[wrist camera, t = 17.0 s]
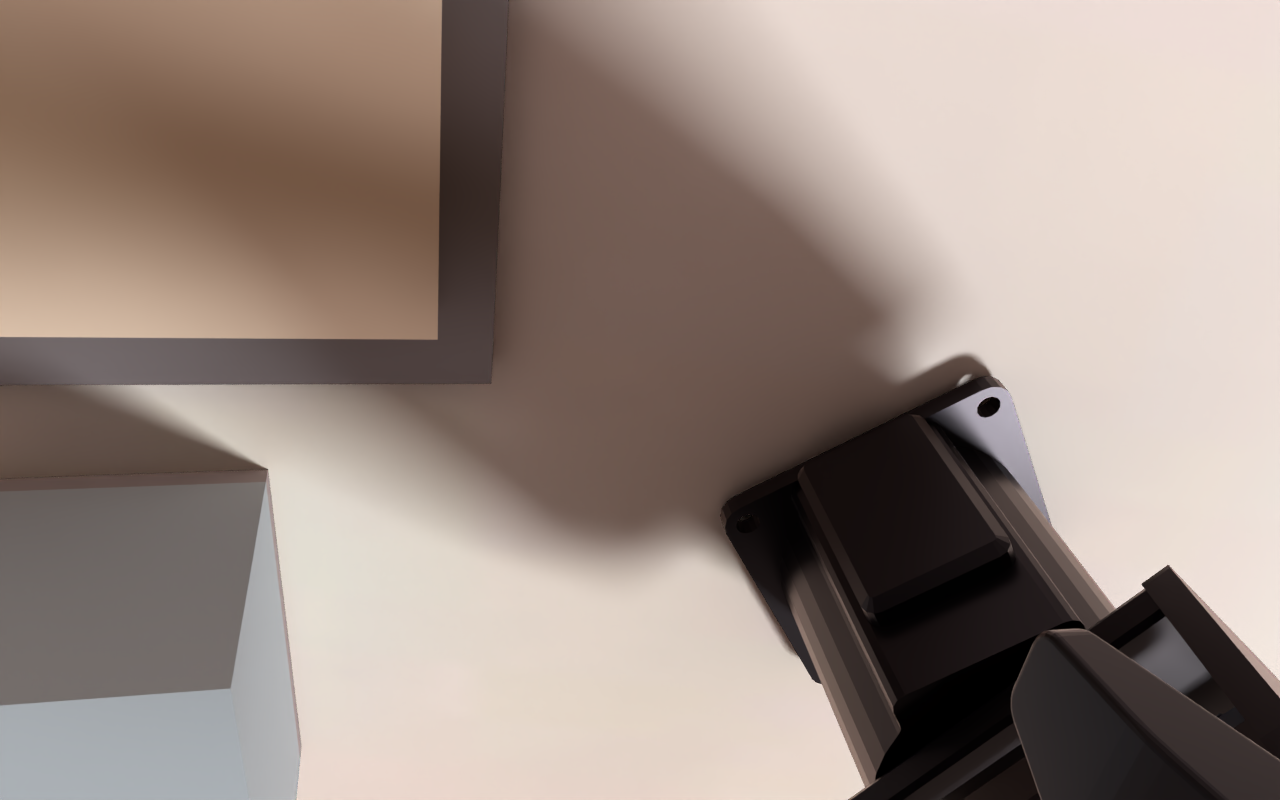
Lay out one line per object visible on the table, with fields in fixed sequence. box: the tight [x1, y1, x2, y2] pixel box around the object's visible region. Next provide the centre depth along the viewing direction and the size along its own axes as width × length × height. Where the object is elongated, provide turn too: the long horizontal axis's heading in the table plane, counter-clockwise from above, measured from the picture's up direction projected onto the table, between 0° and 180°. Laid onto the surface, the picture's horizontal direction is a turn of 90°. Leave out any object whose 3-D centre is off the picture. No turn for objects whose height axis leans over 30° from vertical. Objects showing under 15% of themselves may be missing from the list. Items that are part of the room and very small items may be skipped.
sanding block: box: [0, 469, 301, 800], centre depth 20 cm, size 8×5×6 cm, turn 174°
